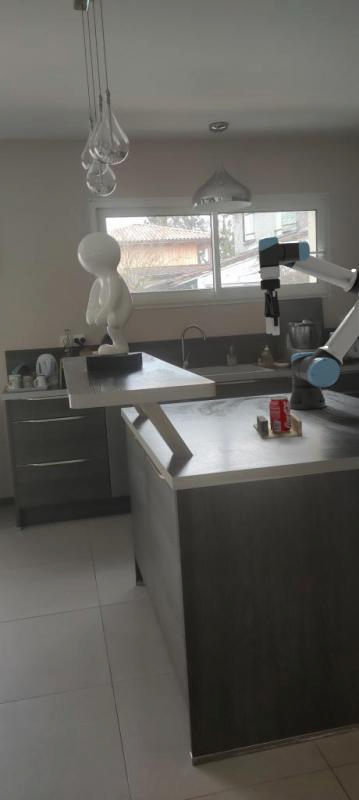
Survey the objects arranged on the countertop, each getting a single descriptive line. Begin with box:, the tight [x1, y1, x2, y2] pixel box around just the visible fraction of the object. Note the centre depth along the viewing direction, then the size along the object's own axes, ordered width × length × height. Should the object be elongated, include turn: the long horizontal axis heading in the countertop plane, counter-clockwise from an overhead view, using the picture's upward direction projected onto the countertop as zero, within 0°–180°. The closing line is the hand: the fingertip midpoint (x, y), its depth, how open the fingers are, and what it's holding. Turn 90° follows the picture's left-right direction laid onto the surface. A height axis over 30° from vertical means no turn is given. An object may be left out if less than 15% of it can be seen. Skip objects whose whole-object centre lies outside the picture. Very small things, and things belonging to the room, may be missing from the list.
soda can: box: [268, 395, 291, 433], centre depth 200 cm, size 7×7×12 cm
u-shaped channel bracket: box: [253, 411, 303, 440], centre depth 206 cm, size 13×22×6 cm, turn 1°
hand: (272, 334), depth 226 cm, fingers open, 13 cm apart
